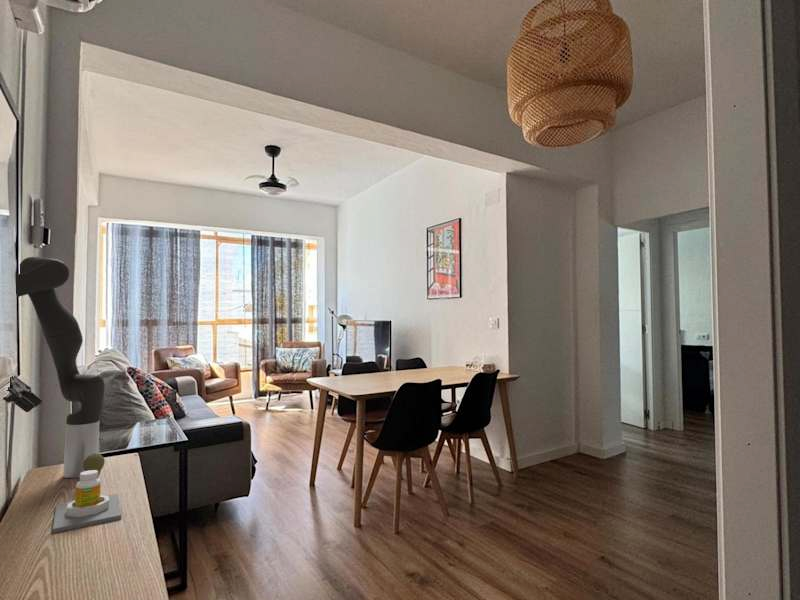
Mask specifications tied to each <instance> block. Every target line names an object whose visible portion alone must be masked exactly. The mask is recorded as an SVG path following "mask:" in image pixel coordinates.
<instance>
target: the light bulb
mask: <svg viewBox="0 0 800 600" xmlns="http://www.w3.org/2000/svg"><path fill="white" fill-rule="evenodd" d="M105 461H106V460H105V458H104V456H103V454H100V453H99V454H91V455H89V456H88V457H87V458H86V459H85V460H84V462H83V469H84V471H89V470H97V471H98V477H97V478H98V479H99V477H100V474H101V472H102V469H103V468H104V467H105V466H104V465H105Z"/></svg>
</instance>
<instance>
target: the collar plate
mask: <svg viewBox="0 0 800 600" xmlns="http://www.w3.org/2000/svg"><path fill="white" fill-rule="evenodd" d="M118 520H122V510H121V506H120V501H119V494H118V493H112V494H108V495H107V494H106V495H101V494H100V503H98V504H96V505H92V506H87V507H75V500H72V501H69V502H62V503H57V504H56V507H55V512H54V518H53V525H52V534H56V533H59V532H60V531H61V532H65V531H64V530H66V531H69V530H75V529H80V528H84V527H89V526H93V525H98V524H103V522H104V523H108V521H109V522H113V521H118ZM74 528H75V529H74Z"/></svg>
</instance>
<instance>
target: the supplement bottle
mask: <svg viewBox="0 0 800 600" xmlns="http://www.w3.org/2000/svg"><path fill="white" fill-rule="evenodd" d="M97 477H98V471H97V470H89V471H84V472H81V473H80V477H79V481H78V482H77V483H76V485H75V498H74V499H75V507H87V506H92V505H96V504H98V503H100V495H101V482H102V481H101V479H100V478H99V477H98V478H97Z"/></svg>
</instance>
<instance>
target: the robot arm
mask: <svg viewBox="0 0 800 600" xmlns="http://www.w3.org/2000/svg"><path fill="white" fill-rule="evenodd" d="M19 265H20V274H19V273H17V274H16V275H17V278H16V294H17V297H16V298H19V297H23V296H27V295H28V297H29V298H30V301H31V303H32V305H33V308H34V310H35V313H36V316H37V319H38V321H39V323H40V326H41V329H42V333H43V336H44V338H45V342H46V344H47V346H48V349H49V351H50V355H51V357H52V359H53V363H54V366H55V370H56V373H57V378H58V383H59V388H60V392H61V394H62V396H63V398H64V399H65V400H66V401H67V402H72V403H81V408H80V409H79V410H77V411H75V412H71V413H70V414H68V415H66V420H65V421H66V423H65V436H64V437H65V440H64V441H65V442H64V458H63V472H62V473H63V476H62V477H63V478H65V479H76V478H80V473H81V472H84V469H83V462H84V460H85V459H86V458H87V457H88V456H89V455H91V454H100V444H101V443H100V441H99V437H100V423H101V422H100V420H101V414H102V412H103V407H104V397H105V381H104V380H105V379H104V378H103V377H102V376H101V375H99V374H81V373H80V371H79V370H78V366H77V358H78V355H79V353H80V350H81V347H82V346H83V334H82V331H81V328H80V325H79V322H78V320H77V318H76V317H75V315H73V313H72V312H71V311H70V310H69V309H68V308H67V306H65V305H64V304H63V302H62V301H61V300H60V298H59V296H58V295H57V293H56V290H55V289H56V288H60V287H61V286H64V284H65V283H67V281H68V280H69V277H70V270H69V266H67V264H66V263H65V262H64V261H62V260H59V259H57V258H50V257H41V256H29V257H26V258H24V259H23V260H22V261H21V262H20V263H19ZM13 375H14V377H13V376H12V377H10V387H8V390H7V391H9V394H8V395H7V396H6V397H4V398H3V399H2V400H3V401H5V402H6V403H8V404H9V403H10V404H15V405H16V406H17V407H18V408H20V409H21V410H23V411H24V412H25V413H29V412H30V411H32V410H33V409H34V408H36V407H38V406H39V405H41V404H42V402H43V399H41V398H40V397H39V396H37V395H36V394H35V393H33V391H32V388H31V386H29V385H28V384H26V383H25V382H24V381H22V380H21V379H20V378H18V377H17V376H16V375H15V374H13Z"/></svg>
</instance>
